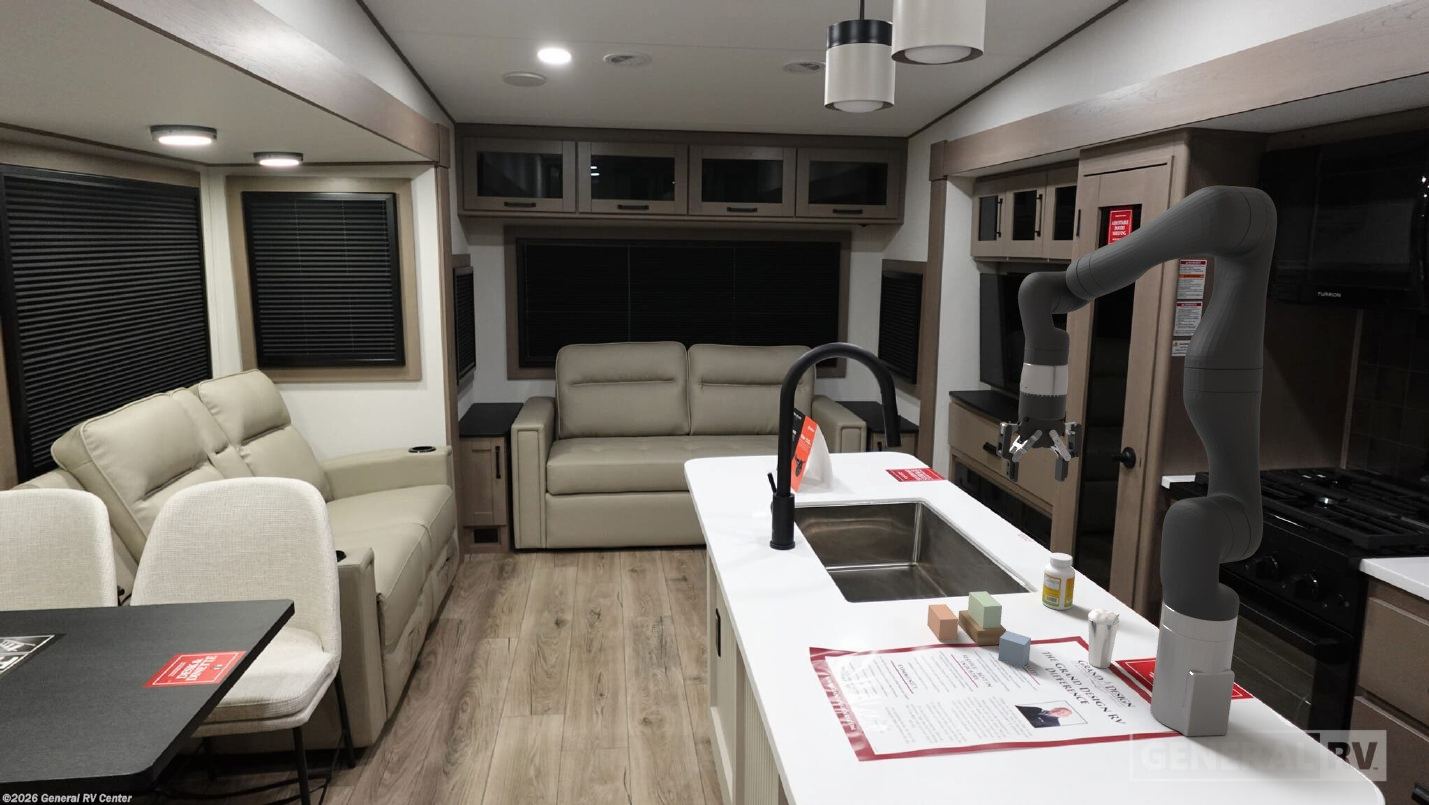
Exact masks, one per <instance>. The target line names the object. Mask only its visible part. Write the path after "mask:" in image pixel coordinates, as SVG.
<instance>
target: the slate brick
mask: <svg viewBox="0 0 1429 805" xmlns="http://www.w3.org/2000/svg"><path fill="white" fill-rule="evenodd" d="M1031 642H1032V637H1029V636H1025V635H1022V634H1019V633H1015V632H1014V631H1013V632H1012V631H1008V630H1006V632H1005V633H1004V634H1003V635H1002V636H1001V637H1000V643H999V644H998V657H997V660H998V661H999V662H1000V661H1001V662H1003V663H1007V664H1010V665H1013V666H1016V667H1020V668H1024V667H1025V665H1026V664H1027V663H1028V662H1029V661H1030V652H1031Z"/></svg>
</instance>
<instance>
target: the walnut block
mask: <svg viewBox="0 0 1429 805" xmlns="http://www.w3.org/2000/svg"><path fill="white" fill-rule="evenodd" d="M957 618H958V626H959V628H960V629H961V630H962V631H963V632H964V633H965V634H966V635H967V636H968V637H969V638H970V639H971V640H972V642H974V644H975V645H976V646H988V645H989V646H991V645H999V643H1000V637H1001V636H1002V635H1003V634H1004V633H1005V632H1006V631H1007V629H1006V628H1005V627H1004V626H1003V625H1002V624H1001V626H1000V628H982V627H981V626H980V625H979V624H978V623H977V622H976V621H975V620H974V619H973V618H972V617H971V616H970V615H969V614H968V609H967V610H966V609H965V610H963V609H962V610H958V617H957Z"/></svg>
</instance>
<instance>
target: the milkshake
mask: <svg viewBox="0 0 1429 805" xmlns="http://www.w3.org/2000/svg"><path fill="white" fill-rule="evenodd" d="M1087 616H1088V620H1087V621H1088V622H1087V623H1088V656H1087V657H1088V665H1089V664H1090V665H1091V666H1092V667H1096V668H1099V669H1108V668H1109V667H1110V666H1111V662H1112V656H1113V651H1114V647H1115V646H1114V645H1115V640H1116V635H1117V633H1118V627H1119V623H1120V619H1119V617H1120V613H1118V614H1115V612H1114V611H1110V610H1108V609H1106V608H1096V609H1093V610H1091V611H1090V612H1088V615H1087Z"/></svg>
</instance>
